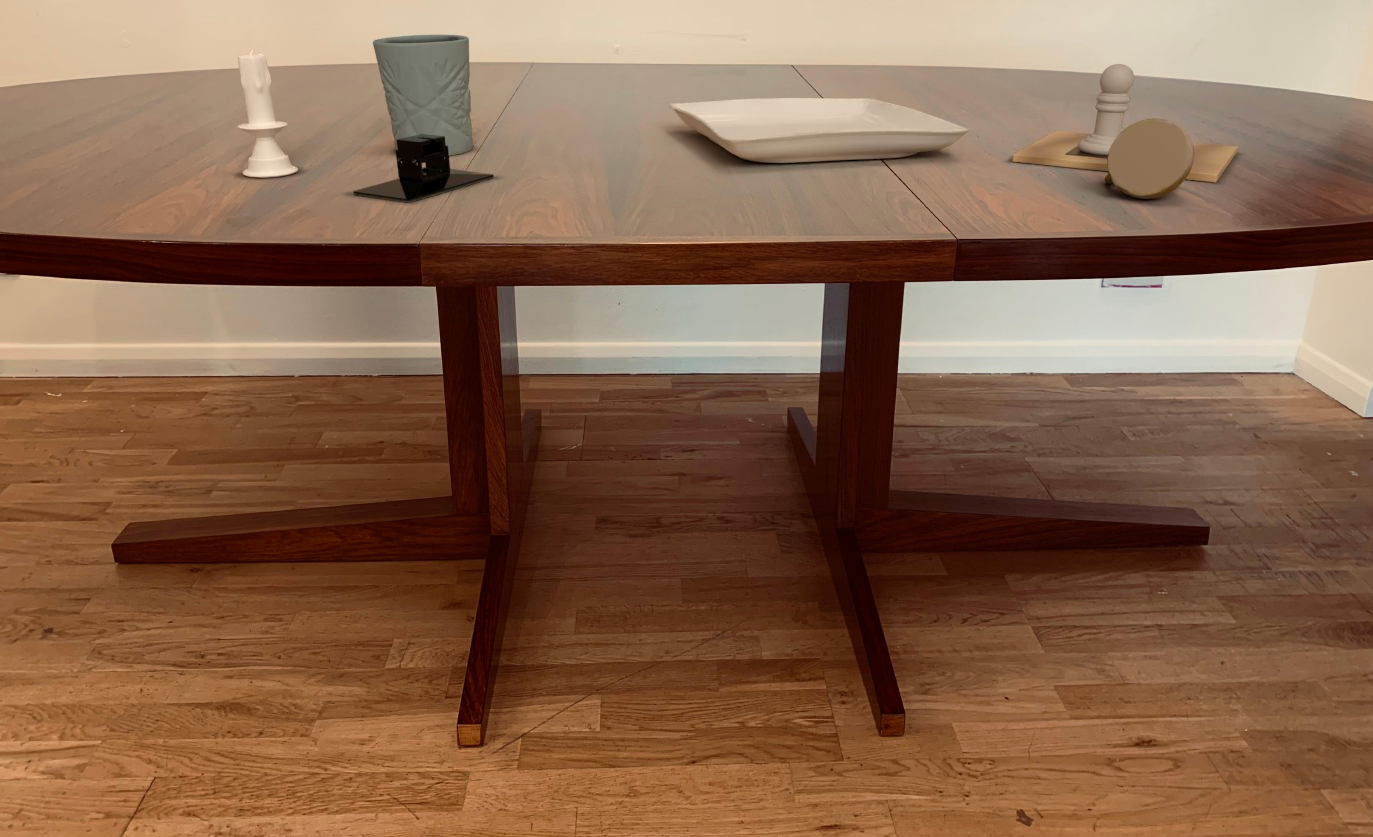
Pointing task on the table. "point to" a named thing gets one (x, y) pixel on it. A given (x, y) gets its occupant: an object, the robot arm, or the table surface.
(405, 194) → the motor on base plate
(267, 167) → the candle
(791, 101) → the square plate
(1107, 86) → the chess piece
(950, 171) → the table surface
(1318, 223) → the table surface
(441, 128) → the drinking glass
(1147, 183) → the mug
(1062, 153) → the board
